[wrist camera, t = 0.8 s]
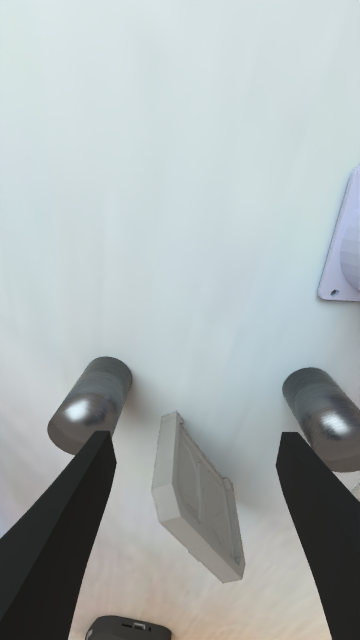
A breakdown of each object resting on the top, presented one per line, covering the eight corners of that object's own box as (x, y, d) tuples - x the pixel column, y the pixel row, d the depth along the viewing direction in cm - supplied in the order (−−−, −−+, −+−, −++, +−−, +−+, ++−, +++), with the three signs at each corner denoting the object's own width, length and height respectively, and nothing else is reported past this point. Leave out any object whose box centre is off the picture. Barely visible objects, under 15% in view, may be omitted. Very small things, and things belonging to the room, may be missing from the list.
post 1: (130, 357, 19) (107, 412, 14) (133, 395, 21) (113, 458, 15) (83, 355, 19) (41, 409, 14) (89, 393, 21) (53, 454, 16)
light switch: (218, 488, 26) (229, 591, 19) (161, 416, 22) (147, 512, 15) (232, 483, 25) (249, 587, 18) (176, 410, 22) (170, 505, 14)
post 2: (337, 368, 19) (397, 429, 14) (323, 406, 21) (372, 474, 15) (288, 366, 19) (327, 425, 14) (278, 403, 21) (310, 470, 15)
